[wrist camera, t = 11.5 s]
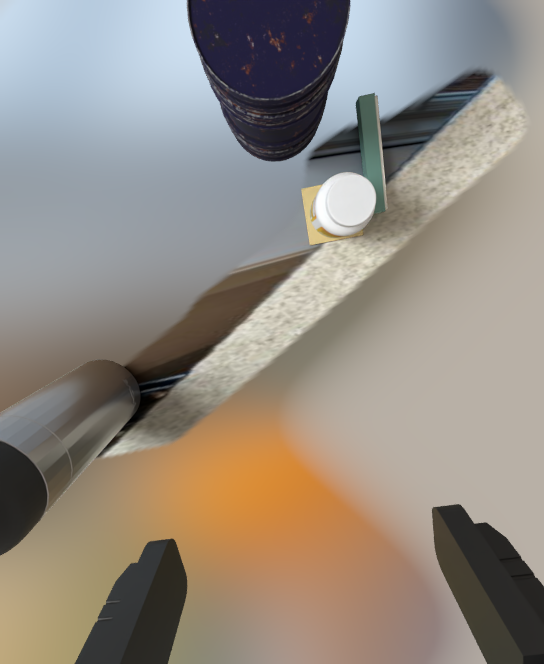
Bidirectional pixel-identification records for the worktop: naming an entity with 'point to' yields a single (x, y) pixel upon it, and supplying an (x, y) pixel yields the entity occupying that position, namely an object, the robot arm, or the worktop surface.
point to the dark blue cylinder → (270, 66)
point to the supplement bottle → (343, 205)
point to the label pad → (313, 234)
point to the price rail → (372, 147)
